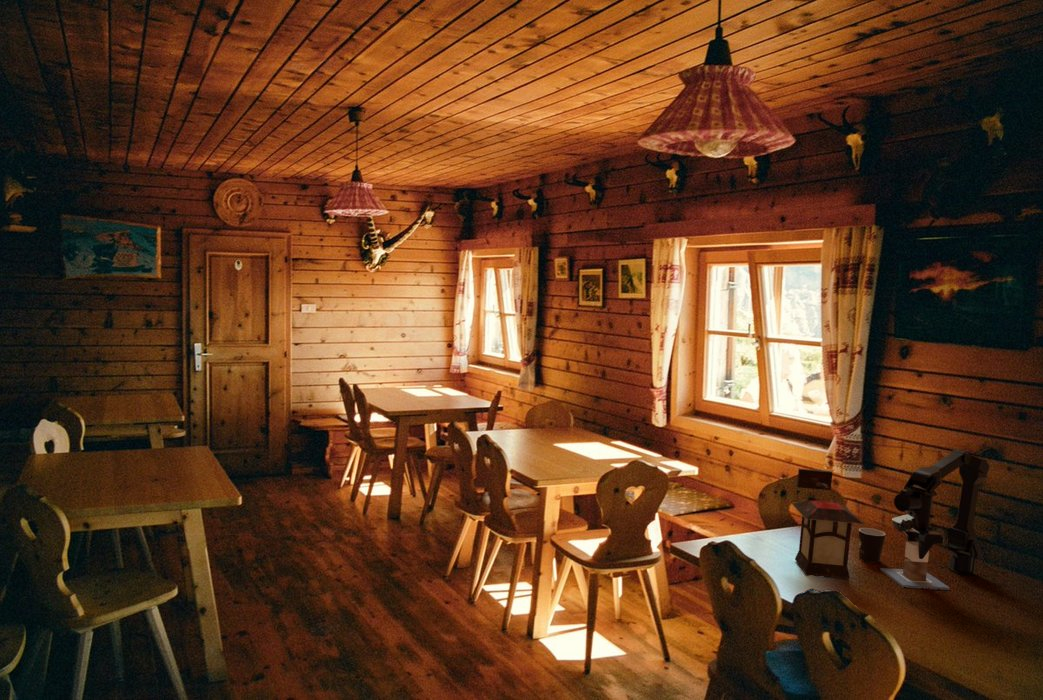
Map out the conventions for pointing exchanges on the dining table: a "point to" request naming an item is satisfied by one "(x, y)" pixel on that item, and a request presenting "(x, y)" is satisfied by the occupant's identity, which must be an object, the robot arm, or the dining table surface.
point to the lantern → (823, 529)
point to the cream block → (914, 552)
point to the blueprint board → (906, 582)
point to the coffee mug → (870, 544)
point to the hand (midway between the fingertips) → (916, 556)
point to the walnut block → (915, 570)
